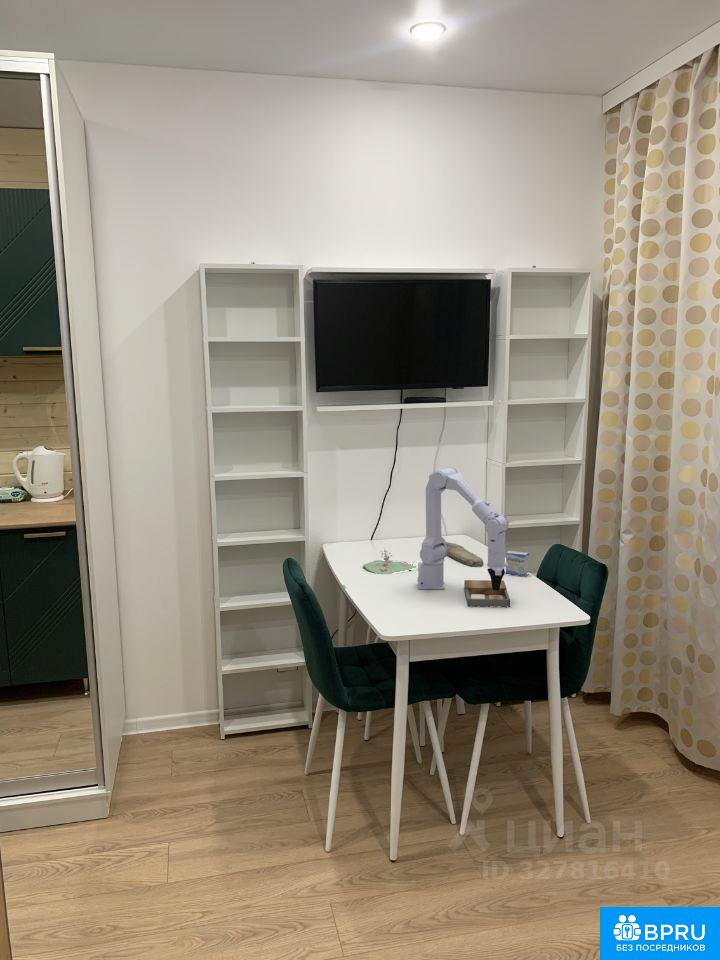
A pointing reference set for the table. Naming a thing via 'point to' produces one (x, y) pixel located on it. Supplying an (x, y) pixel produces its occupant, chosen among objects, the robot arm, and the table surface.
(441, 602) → the table surface
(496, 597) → the terracotta tile
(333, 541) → the table surface
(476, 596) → the cream tile
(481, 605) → the bin
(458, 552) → the elongated rock
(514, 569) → the medicine box
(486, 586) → the walnut board
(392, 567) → the plant
